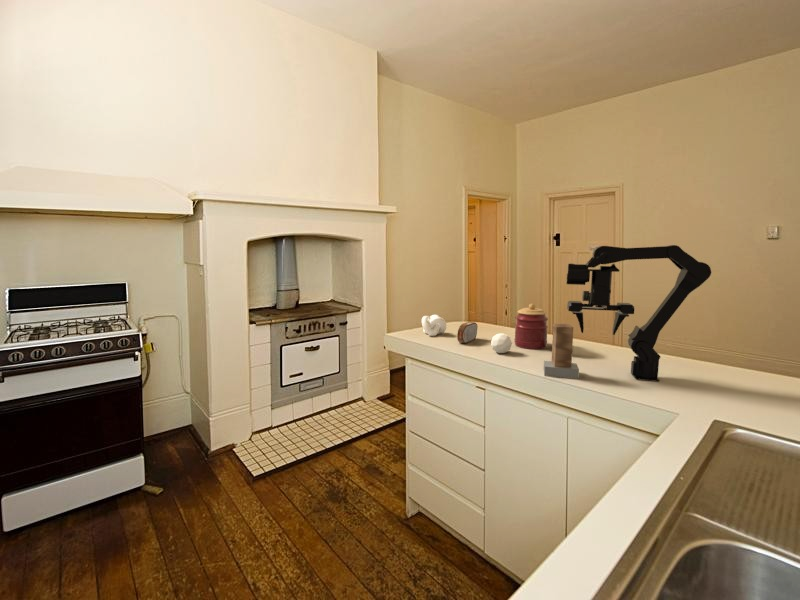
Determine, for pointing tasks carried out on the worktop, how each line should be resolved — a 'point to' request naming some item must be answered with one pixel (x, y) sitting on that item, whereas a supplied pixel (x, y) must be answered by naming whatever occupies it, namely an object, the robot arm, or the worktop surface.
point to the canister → (531, 328)
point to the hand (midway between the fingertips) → (597, 333)
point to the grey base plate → (561, 370)
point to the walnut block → (562, 345)
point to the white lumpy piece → (433, 325)
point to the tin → (467, 332)
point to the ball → (501, 343)
